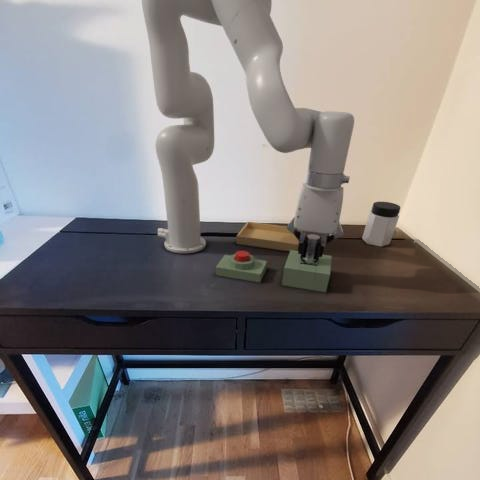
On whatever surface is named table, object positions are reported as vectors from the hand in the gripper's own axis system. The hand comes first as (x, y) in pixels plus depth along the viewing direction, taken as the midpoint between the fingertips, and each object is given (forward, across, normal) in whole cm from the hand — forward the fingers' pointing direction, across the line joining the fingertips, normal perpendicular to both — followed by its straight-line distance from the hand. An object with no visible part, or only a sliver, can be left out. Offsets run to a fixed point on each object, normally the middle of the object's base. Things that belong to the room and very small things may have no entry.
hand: (309, 257), depth 78 cm
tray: (+6, +14, -23) cm, 28 cm away
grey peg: (+6, 0, 0) cm, 6 cm away
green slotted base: (+6, 0, 0) cm, 6 cm away
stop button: (+3, +17, +2) cm, 17 cm away
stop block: (+6, +17, +2) cm, 18 cm away
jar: (+6, -20, -34) cm, 40 cm away
